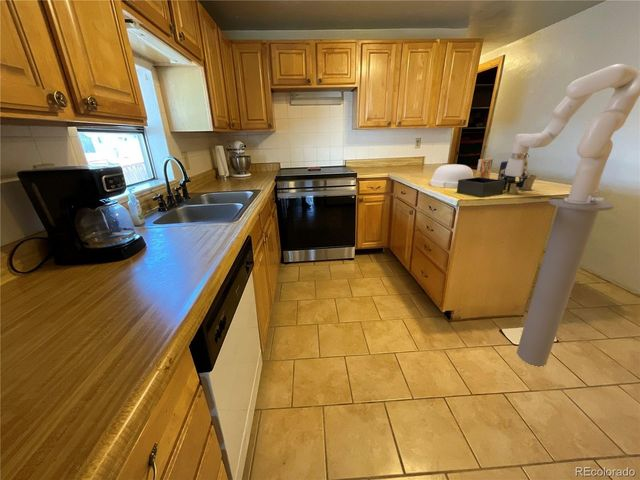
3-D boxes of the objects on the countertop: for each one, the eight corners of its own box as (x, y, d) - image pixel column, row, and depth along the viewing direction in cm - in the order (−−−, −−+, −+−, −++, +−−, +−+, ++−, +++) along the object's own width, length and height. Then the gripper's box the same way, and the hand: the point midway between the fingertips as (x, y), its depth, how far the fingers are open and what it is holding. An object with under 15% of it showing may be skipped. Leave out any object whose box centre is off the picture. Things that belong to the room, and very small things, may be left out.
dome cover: (440, 180, 215) (442, 162, 210) (480, 182, 195) (484, 163, 190) (422, 185, 195) (423, 166, 190) (465, 189, 174) (469, 167, 169)
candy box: (486, 178, 212) (489, 158, 207) (489, 179, 208) (493, 158, 203) (475, 178, 212) (478, 159, 207) (478, 179, 208) (481, 159, 203)
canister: (497, 189, 170) (503, 160, 163) (494, 187, 178) (499, 159, 171) (515, 190, 166) (521, 160, 160) (511, 187, 174) (517, 159, 168)
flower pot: (531, 191, 161) (535, 177, 158) (513, 189, 168) (516, 176, 165) (535, 189, 167) (539, 175, 164) (517, 187, 173) (520, 174, 170)
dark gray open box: (502, 193, 158) (505, 180, 155) (481, 197, 152) (483, 183, 150) (476, 189, 174) (478, 177, 171) (456, 192, 168) (458, 179, 165)
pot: (520, 192, 159) (523, 180, 156) (513, 194, 156) (515, 181, 154) (509, 191, 165) (512, 179, 162) (502, 192, 162) (504, 180, 160)
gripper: (539, 157, 147) (531, 187, 153) (508, 155, 162) (502, 183, 168) (530, 157, 144) (522, 189, 151) (500, 156, 159) (494, 184, 166)
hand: (511, 186), depth 159 cm, fingers open, 9 cm apart
